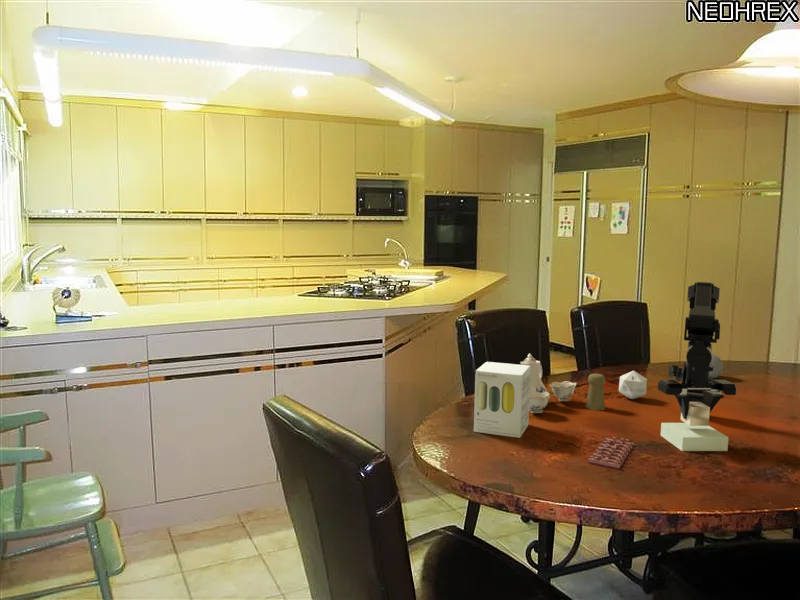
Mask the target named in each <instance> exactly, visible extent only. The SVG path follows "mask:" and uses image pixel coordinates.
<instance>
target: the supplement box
mask: <svg viewBox="0 0 800 600" xmlns="http://www.w3.org/2000/svg"><path fill="white" fill-rule="evenodd" d="M530 371H531V366H528V365H521V364H517V363H516V364H515V363H506V362H494V361H486V362H484V363H483V364H482V365H481V366H479V367H478V368H477V369H475V377H474V378H475V379H474V406H473V407H474V412H473V416H474V418H473V432H474V433H475V432H476V433H481V434H488V435H496V436H502V437H510V438H517V439H520V438H521V437H522V436H523V434H524V432H525V431H526V429H527V428H528V427H529V425H530V424H529V420H530V419H529V414H530V411H529V394H530Z"/></svg>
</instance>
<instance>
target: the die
mask: <svg viewBox="0 0 800 600" xmlns="http://www.w3.org/2000/svg"><path fill="white" fill-rule="evenodd" d="M647 384H648V378H646V377H644V376H643V375H642V374H640V373H638V372H637V371H636V370H632V371H630V372H627V373H624V374H622V375H621V376H619V382H618V392H619V393H620V394H622V395H623V396H625V397H626V398H628V399H630V400H636V399H638V398H640V397H643V396H645V395H646V394H647Z"/></svg>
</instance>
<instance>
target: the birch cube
mask: <svg viewBox="0 0 800 600" xmlns="http://www.w3.org/2000/svg"><path fill="white" fill-rule="evenodd" d="M710 414H711V412H710V407H709V406H707V405H705V404H703V403H701V402H689V408H688V415H687V419H684V418H683V416H682V413H680V421H682V423H686V424H688V425H690V426H710V419H709V417H710Z"/></svg>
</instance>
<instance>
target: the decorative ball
mask: <svg viewBox="0 0 800 600" xmlns="http://www.w3.org/2000/svg"><path fill="white" fill-rule="evenodd" d="M711 367H713V371H710V379H713V380H715V379H717V378H718V377H719V376H720V375H721V374H722V372H723V370H724V363H723V361H722V359H721V358H720V357H719V356H718V355H717V354H714V353H712V360H711Z"/></svg>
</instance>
